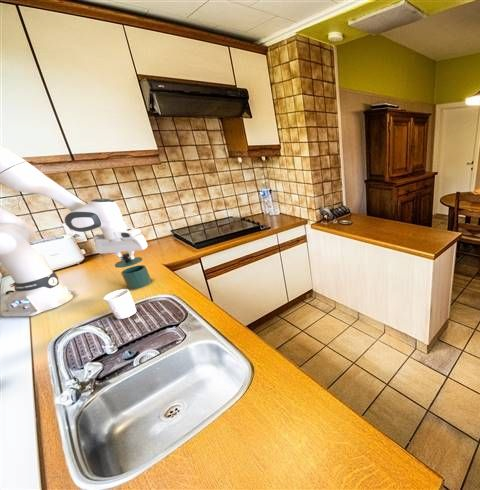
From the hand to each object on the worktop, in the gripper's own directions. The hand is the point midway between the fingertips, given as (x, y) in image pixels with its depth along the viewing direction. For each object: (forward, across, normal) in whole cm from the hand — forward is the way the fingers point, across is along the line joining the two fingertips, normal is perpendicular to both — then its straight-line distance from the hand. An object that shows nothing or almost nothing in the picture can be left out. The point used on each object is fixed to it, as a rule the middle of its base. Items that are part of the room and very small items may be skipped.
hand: (127, 259), depth 129 cm
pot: (+14, +1, 0) cm, 14 cm away
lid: (+2, 0, 0) cm, 2 cm away
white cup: (+14, +12, -27) cm, 33 cm away
